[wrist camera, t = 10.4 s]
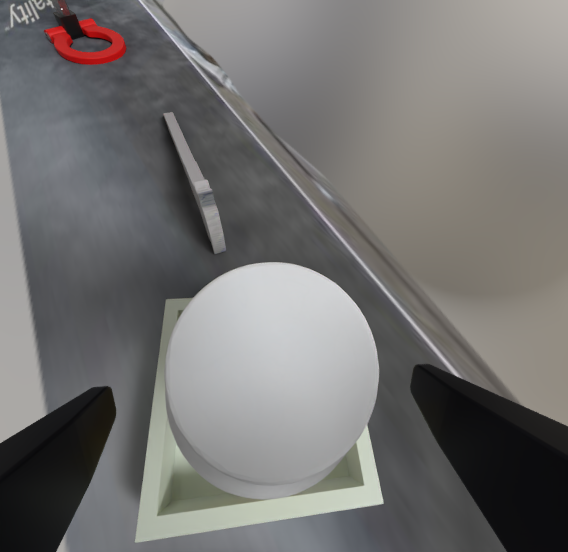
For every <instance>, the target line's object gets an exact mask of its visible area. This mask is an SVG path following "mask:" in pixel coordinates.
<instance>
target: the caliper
mask: <svg viewBox="0 0 568 552" xmlns="http://www.w3.org/2000/svg"><path fill="white" fill-rule="evenodd" d="M164 118H165V121H166V123H167V126H168V129H169V132H170V134H171V137H172V139H173V142H174V144H175V147H176V149H177V152H178V154H179V157H180V159H181V162H182V164H183V167H184V169H185V172H186V175H187V177H188V180H189V182H190V185H191V189H192V192H193V194H194V196H195V199H196V202H197V204H198V206H199V208H200V212H201V215H202V218H203V222H204V225H205V228H206V231H207V235H208V237H209V240H211V244H212V247H213V251H214V254H217V253H220V252H224V251H226V247H225V241H224V236H223V230H222V226H221V222H220V217H219V213H218V209H217V206H216V204H215V201H214V196H213V192H212V189H210V187H209V183H208V180H204V178H203V175H202V173H201V171H200V169H199V167H198V165H197V163H196V161H195V160H194V158H193V156H192V154H191V152H190V149H189V147H188V145H187V143H186V141H185V138H184V136H183V134H182V132H181V130H180V128H179V125H178V123H177V121H176V119H175V117H174V114H173V112H171V113H164Z"/></svg>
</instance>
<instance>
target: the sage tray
mask: <svg viewBox="0 0 568 552" xmlns="http://www.w3.org/2000/svg"><path fill="white" fill-rule="evenodd" d="M192 299H193V298H181V299H166V304H165V311H164V319H163V327H162V335H161V343H160V350H159V358H158V366H157V374H156V382H155V389H154V397H153V405H152V413H151V421H150V428H149V436H148V444H147V452H146V460H145V467H144V475H143V483H142V491H141V499H140V506H139V514H138V522H137V530H136V538H135V543H138V542H144V541H151V540H157V539H163V538H170V537H176V536H182V535H189V534H195V533H201V532H208V531H214V530H220V529H227V528H233V527H239V526H246V525H252V524H258V523H264V522H271V521H277V520H283V519H290V518H296V517H302V516H309V515H315V514H321V513H328V512H334V511H340V510H347V509H353V508H359V507H366V506H372V505H378V504H384V503H383V498H382V494H381V489H380V484H379V479H378V474H377V470H376V465H375V460H374V455H373V451H372V446H371V441H370V436H369V432H368V427H367V425H366V427H365V429H364V431H363V432H362V434H361V436H360V437H359V439H358V440H357V441H356V443H355V444H354V445H353V446H352V448H351V449H350V450H349V451H348V452H347V453H346V455H345V456H344V457H343V459H342V460H341V461H340V462H339V464H338V465H337V466H336V467H335V468H334V469H333V470H332V471H331V472H330V473H329V474H328V475H327V476H326V477H324V478H323V479H322V480H321V481H319V482H318V483H317V484H315V485H313V486H311V487H310V488H308V489H306V490H304V491H301V492H299V493H297V494H294V495H291V496H288V497H284V498H278V499H265V500H264V499H250V498H245V497H241V496H237V495H233V494H230V493H227V492H225V491H223V490H221V489H219V488H217V487H216V486H214V485H212V484H211V483H209V482H208V481H206V480H205V479H204V478H203V477H202V476H200V475H199V474H198V473H197V472H196V470H195V469H194V468H193V467H192V466H191V465H190V464H189V463H188V461H187V460H186V459H185V457H184V456H183V454H182V453H181V451H180V449H179V447H178V445H177V444H176V441H175V439H174V436H173V434H172V431H171V428H170V425H169V421H168V416H167V410H166V401H165V378H164V369H165V359H166V353H167V348H168V344H169V340H170V337H171V334H172V331H173V329H174V326H175V324H176V322H177V321H178V319H179V317H180V315H181V314H182V312H183V310H184V309H185V307H186V306H187V305H188V304H189V302H190V301H191V300H192Z"/></svg>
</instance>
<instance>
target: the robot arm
mask: <svg viewBox="0 0 568 552" xmlns="http://www.w3.org/2000/svg"><path fill="white" fill-rule="evenodd" d="M410 390H411V393H412V396H413V398H414V399H415V401H416V403H417V405H418V407H419V409H420V411H421V413H422V415H423V417H424V419H425V420H426V422H427V424H428V426H429V428H430V430H431V432H432V434H433V436H434V437H435V439H436V441H437V443H438V444H439V446H440V448H441V449H442V451H443V452H444V454H445V456H446V457H447V459H448V460H449V462H450V463H451V465H452V467H453V468H454V470H455V471H456V473H457V474H458V476H459V477H460V479H461V481H462V482H463V484H464V485H465V487H466V488H467V490H468V492H469V493H470V495H471V496H472V498H473V499H474V501H475V503H476V504H477V506H478V507H479V509H480V510H481V512H482V513H483V515H484V517H485V518H486V520H487V521H488V523H489V524H490V526H491V528H492V529H493V531H494V532H495V534H496V535H497V537H498V539H499V540H500V542H501V543H502V545H503V546H504V548H505V549H506V551H507V552H568V426H566V425H564V424H561V423H559V422H557V421H555V420H553V419H550V418H548V417H546V416H544V415H541V414H539V413H537V412H535V411H532V410H530V409H528V408H526V407H524V406H521V405H519V404H517V403H515V402H512V401H510V400H508V399H506V398H504V397H501V396H499V395H497V394H495V393H492V392H490V391H488V390H486V389H484V388H481V387H479V386H477V385H475V384H472V383H470V382H468V381H466V380H463V379H461V378H459V377H457V376H455V375H452V374H450V373H448V372H446V371H443V370H441V369H439V368H437V367H435V366H432V365H430V364H417V365H415V366H414V368H413V373H412V379H411V384H410ZM115 418H116V407H115V402H114V397H113V392H112V389H111V388H110V387H108V386H103V387H93V388H91V389H89V390H87V391H86V392H84V393H83V394H81V395H79V396H78V397H76V398H74V399H73V400H71V401H69V402H68V403H66V404H64V405H63V406H61V407H59V408H58V409H56V410H54V411H53V412H51V413H49V414H48V415H46V416H45V417H43V418H41V419H40V420H38V421H36V422H35V423H33V424H31V425H30V426H28V427H26V428H25V429H23V430H22V431H20V432H18V433H16V434H15V435H13V436H11V437H10V438H8V439H7V440H5V441H3V442H2V443H0V552H56V551H57V549H58V547H59V545H60V543H61V541H62V539H63V537H64V535H65V533H66V531H67V529H68V527H69V525H70V523H71V521H72V519H73V517H74V515H75V512H76V510H77V508H78V506H79V504H80V502H81V500H82V498H83V496H84V494H85V492H86V490H87V488H88V486H89V484H90V482H91V479H92V477H93V475H94V472H95V470H96V467H97V465H98V462H99V459H100V457H101V454H102V452H103V449H104V447H105V444H106V441H107V439H108V436H109V434H110V431H111V429H112V426H113V423H114V421H115Z"/></svg>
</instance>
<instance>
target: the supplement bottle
mask: <svg viewBox="0 0 568 552" xmlns="http://www.w3.org/2000/svg"><path fill="white" fill-rule="evenodd" d="M164 378H165V401H166V410H167V416H168V421H169V425H170V428H171V431H172V434H173V436H174V439H175V441H176V444H177V445H178V447H179V449H180V451H181V453H182V454H183V456H184V457H185V459H186V460H187V461H188V463H189V464H190V465H191V466H192V467H193V468H194V469H195V470H196V472H197V473H198V474H199V475H200V476H202V477H203V478H204V479H205V480H206V481H208V482H209V483H211V484H212V485H214V486H216V487H217V488H219V489H221V490H223V491H225V492H227V493H230V494H233V495H237V496H241V497H245V498H250V499H264V500H265V499H278V498H284V497H288V496H291V495H294V494H297V493H299V492H301V491H304V490H306V489H308V488H310V487H311V486H313V485H315V484H317V483H318V482H319V481H321V480H322V479H323V478H324V477H326V476H327V475H328V474H329V473H330V472H331V471H332V470H333V469H334V468H335V467H336V466H337V465H338V464H339V462H340V461H341V460H342V459H343V457H344V456H345V455H346V453H347V452H348V451H349V450H350V449H351V448H352V446H353V445H354V444H355V443H356V441H357V440H358V439H359V437H360V436H361V434H362V432H363V431H364V429H365V427H366V425H367V423H368V421H369V418H370V416H371V413H372V411H373V408H374V405H375V401H376V397H377V387H378V381H379V365H378V357H377V350H376V346H375V342H374V339H373V335H372V333H371V330H370V328H369V326H368V323H367V321H366V319H365V317H364V316H363V314H362V313H361V311H360V309H359V308H358V306H357V305H356V304H355V302H354V301H353V300H352V299H351V298H350V297H349V296H348V294H347V293H346V292H345V291H343V290H342V289H341V288H340V287H339V286H338V285H337V284H335V283H334V282H333V281H331V280H329V279H328V278H326V277H325V276H323V275H321V274H319V273H317V272H315V271H313V270H311V269H308V268H305V267H302V266H298V265H294V264H288V263H281V262H267V263H257V264H251V265H246V266H243V267H239V268H236V269H234V270H231V271H229V272H227V273H225V274H223V275H221V276H219V277H218V278H216V279H214V280H213V281H212V282H210V283H209V284H208V285H206V286H205V287H204V288H203V289H202V290H200V291H199V292H198V293H197V294H196V295H195V297H194V298H193V299H192V300H191V301H190V302H189V304H188V305H187V306H186V307H185V309H184V310H183V312H182V314H181V315H180V317H179V319H178V321H177V322H176V324H175V326H174V329H173V331H172V334H171V337H170V340H169V344H168V348H167V353H166V359H165V369H164Z"/></svg>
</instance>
